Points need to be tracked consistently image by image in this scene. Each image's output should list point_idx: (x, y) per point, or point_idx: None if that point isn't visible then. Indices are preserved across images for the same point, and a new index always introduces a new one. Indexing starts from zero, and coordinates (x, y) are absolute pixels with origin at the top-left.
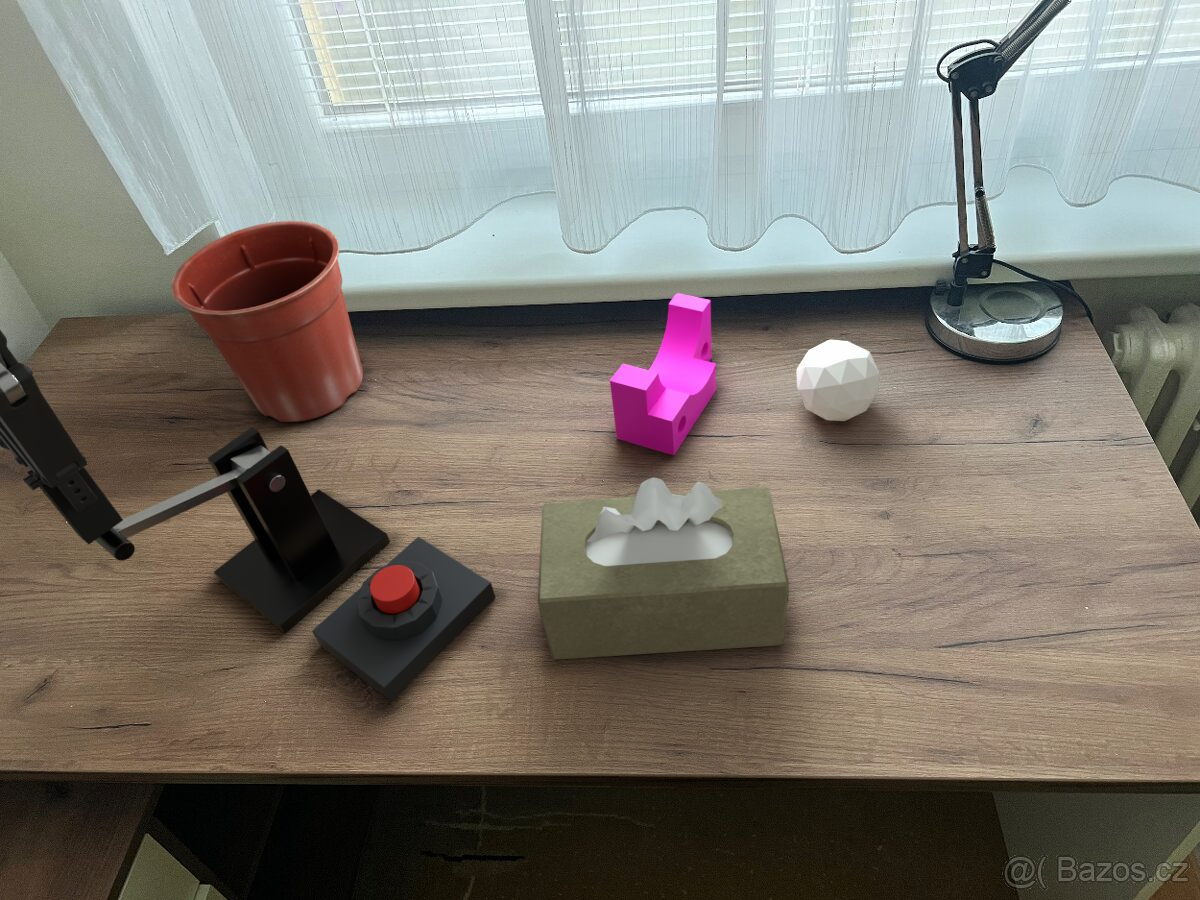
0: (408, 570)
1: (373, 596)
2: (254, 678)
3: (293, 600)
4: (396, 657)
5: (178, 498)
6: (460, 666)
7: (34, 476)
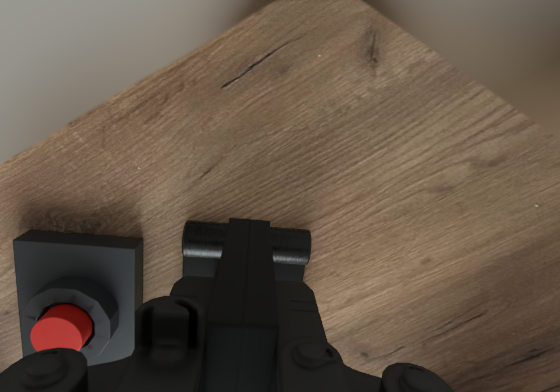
0: None
1: (58, 317)
2: (171, 179)
3: (197, 262)
4: (30, 270)
5: None
6: (7, 288)
7: (178, 343)
